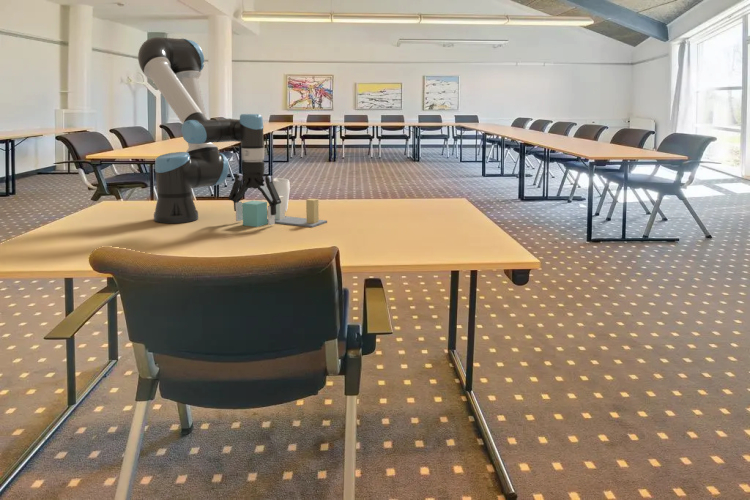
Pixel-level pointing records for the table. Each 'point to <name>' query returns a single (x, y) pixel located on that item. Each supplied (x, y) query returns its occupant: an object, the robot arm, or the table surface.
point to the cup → (282, 189)
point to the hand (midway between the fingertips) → (255, 222)
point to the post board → (310, 221)
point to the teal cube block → (254, 213)
